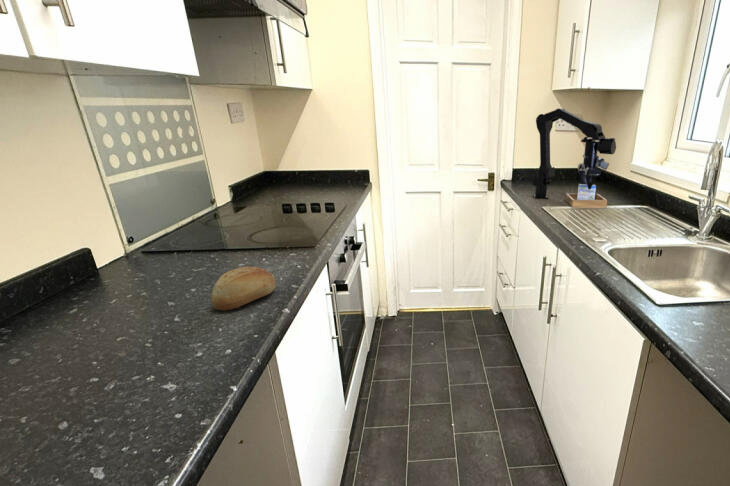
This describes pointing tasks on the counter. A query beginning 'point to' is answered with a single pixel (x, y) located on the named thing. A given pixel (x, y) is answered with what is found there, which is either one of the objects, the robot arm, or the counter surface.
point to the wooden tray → (586, 201)
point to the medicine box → (586, 192)
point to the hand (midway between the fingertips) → (586, 187)
